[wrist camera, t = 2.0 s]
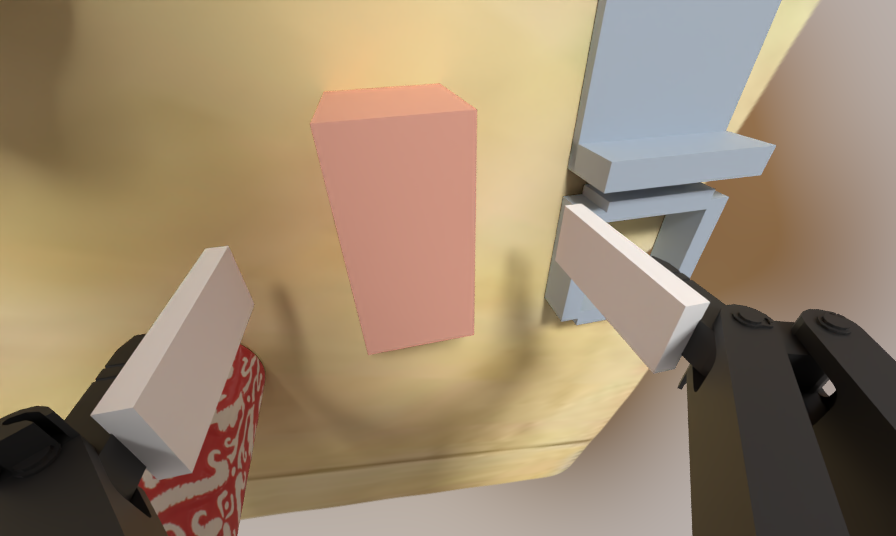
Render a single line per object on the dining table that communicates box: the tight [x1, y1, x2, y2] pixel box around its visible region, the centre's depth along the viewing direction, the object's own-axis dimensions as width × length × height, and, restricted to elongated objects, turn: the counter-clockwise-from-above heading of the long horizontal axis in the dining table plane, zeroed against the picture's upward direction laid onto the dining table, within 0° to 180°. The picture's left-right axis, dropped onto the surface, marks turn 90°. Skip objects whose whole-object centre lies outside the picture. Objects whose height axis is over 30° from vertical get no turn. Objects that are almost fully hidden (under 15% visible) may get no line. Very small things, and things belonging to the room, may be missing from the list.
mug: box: [138, 344, 265, 536], centre depth 17 cm, size 13×9×14 cm
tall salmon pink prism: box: [310, 83, 477, 355], centre depth 16 cm, size 10×5×6 cm, turn 2°
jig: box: [544, 0, 781, 325], centre depth 17 cm, size 27×9×4 cm, turn 2°
